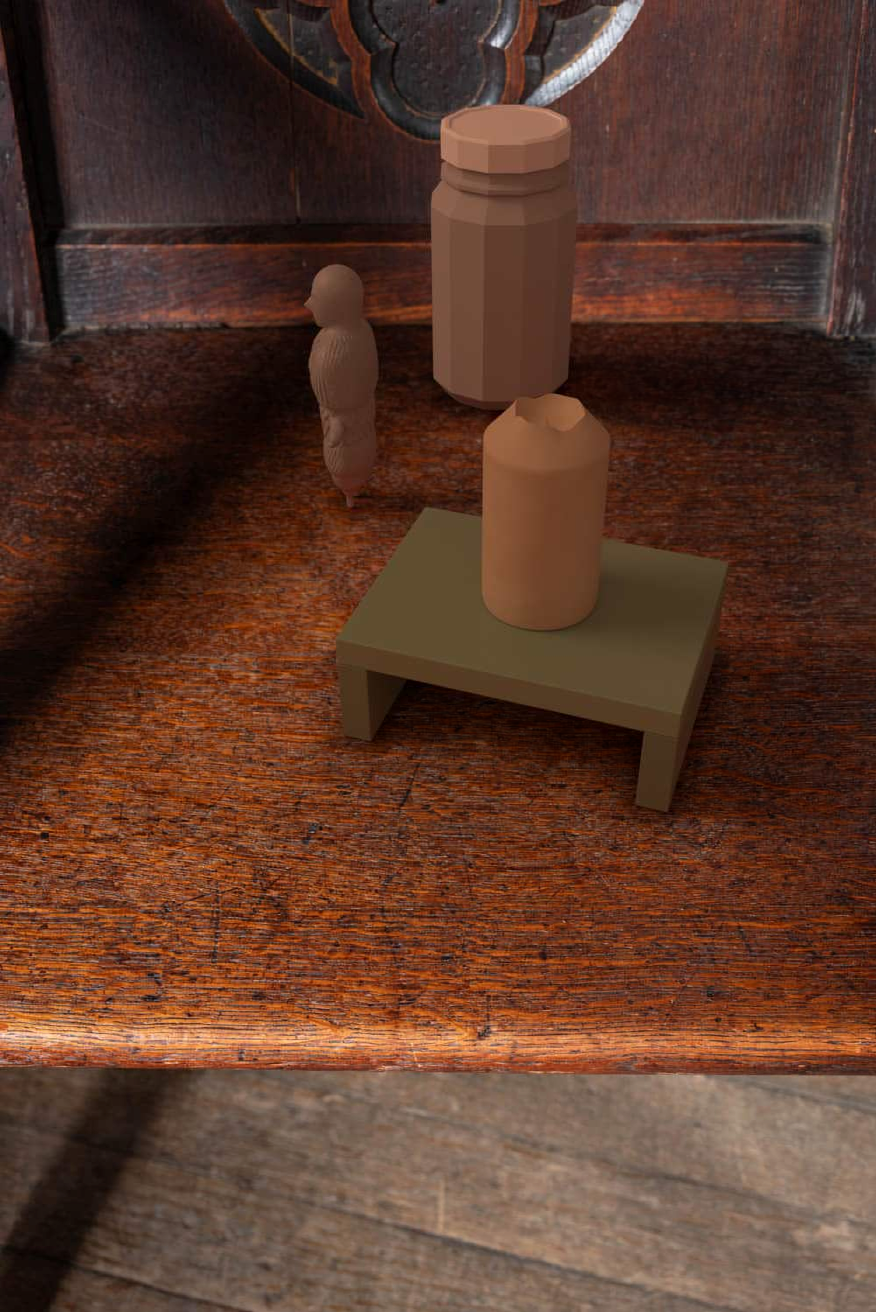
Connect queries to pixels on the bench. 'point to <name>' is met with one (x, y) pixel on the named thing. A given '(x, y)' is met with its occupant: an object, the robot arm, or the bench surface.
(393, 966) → the bench surface
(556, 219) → the jar
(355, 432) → the figurine
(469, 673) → the shelf
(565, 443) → the candle
